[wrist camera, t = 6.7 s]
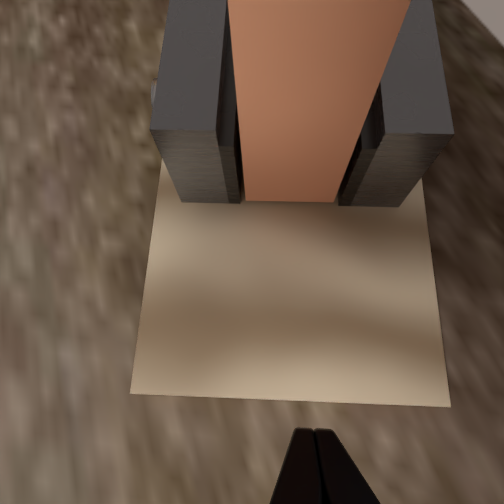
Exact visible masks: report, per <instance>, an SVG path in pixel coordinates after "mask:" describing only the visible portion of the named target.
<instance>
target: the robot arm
mask: <svg viewBox="0 0 504 504" xmlns="http://www.w3.org/2000/svg"><path fill="white" fill-rule="evenodd" d="M270 504H380V502H379V500H378V499H377V497H376V496H375V494H374V493H373V491H372V490H371V488H370V487H369V485H368V483H367V482H366V480H365V479H364V477H363V476H362V474H361V473H360V471H359V469H358V468H357V466H356V465H355V463H354V462H353V460H352V459H351V457H350V456H349V454H348V452H347V451H346V449H345V448H344V446H343V445H342V443H341V442H340V440H339V438H338V437H337V435H336V434H335V432H334V431H333V430H331V429H323V428H316V429H314V431H313V429H311V428H300V427H297V428H295V429H294V431H293V434H292V437H291V440H290V443H289V446H288V449H287V452H286V455H285V458H284V461H283V464H282V468H281V471H280V474H279V477H278V480H277V483H276V486H275V489H274V492H273V495H272V498H271V501H270Z"/></svg>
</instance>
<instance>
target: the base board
mask: <svg viewBox="0 0 504 504" xmlns="http://www.w3.org/2000/svg"><path fill="white" fill-rule="evenodd" d="M130 394H151V395H175V396H198V397H222V398H246V399H270V400H293V401H317V402H341V403H365V404H388V405H412V406H436V407H451V404H450V396H449V388H448V381H447V373H446V365H445V357H444V350H443V342H442V334H441V326H440V318H439V311H438V303H437V295H436V287H435V279H434V272H433V264H432V256H431V248H430V240H429V233H428V225H427V217H426V209H425V202H424V194H423V186H422V178H421V179H420V180H419V181H418V183H417V184H416V185H415V187H414V188H413V189H412V191H411V192H410V193H409V195H408V196H407V197H406V198H405V200H404V201H403V202H402V204H401V205H400V206H399V207H360V206H338V192H337V195H336V197H335V200H334V202H288V201H246V198H245V186H244V175H243V164H242V181H241V199H240V204H227V203H183V202H181V200H180V198H179V195H178V193H177V191H176V189H175V186H174V184H173V182H172V179H171V177H170V175H169V173H168V170H167V168H166V166H165V163H164V161H163V159H162V164H161V172H160V179H159V186H158V193H157V201H156V208H155V215H154V222H153V230H152V237H151V244H150V251H149V259H148V266H147V273H146V280H145V288H144V295H143V302H142V309H141V317H140V324H139V331H138V338H137V346H136V353H135V360H134V367H133V375H132V382H131V389H130Z"/></svg>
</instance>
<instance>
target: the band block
mask: <svg viewBox="0 0 504 504" xmlns="http://www.w3.org/2000/svg"><path fill="white" fill-rule="evenodd" d="M151 103H152V109H153V110H152V117H151V123H150V132H151V134H152V136H153V138H154V141H155V143H156V145H157V148H158V150H159V152H160V154H161V157H162V159H163V161H164V163H165V166H166V168H167V170H168V173H169V175H170V177H171V179H172V182H173V184H174V186H175V189H176V191H177V193H178V195H179V198H180V200H181V202H183V203H227V204H240V199H241V181H242V153H241V142H240V131H239V120H238V109H237V98H236V87H235V76H234V65H233V54H232V43H231V31H230V20H229V9H228V0H170V1H169V8H168V14H167V20H166V27H165V33H164V40H163V46H162V53H161V59H160V65H159V72H158V78H154V79H153V81H152V86H151ZM453 135H454V128H453V122H452V117H451V111H450V105H449V99H448V93H447V87H446V81H445V75H444V69H443V63H442V58H441V52H440V46H439V40H438V34H437V28H436V22H435V16H434V10H433V4H432V0H411V2H410V5H409V7H408V10H407V12H406V15H405V18H404V20H403V23H402V25H401V28H400V31H399V33H398V36H397V38H396V41H395V44H394V46H393V49H392V51H391V54H390V57H389V59H388V62H387V64H386V67H385V70H384V72H383V75H382V77H381V80H380V83H379V85H378V88H377V90H376V93H375V96H374V98H373V101H372V103H371V106H370V109H369V111H368V114H367V116H366V119H365V122H364V124H363V127H362V129H361V132H360V135H359V137H358V140H357V142H356V145H355V148H354V150H353V153H352V155H351V158H350V161H349V163H348V166H347V168H346V171H345V174H344V176H343V179H342V181H341V184H340V187H339V189H338V206H360V207H399V206H400V205H401V204H402V202H403V201H404V200H405V198H406V197H407V196H408V195H409V193H410V192H411V191H412V189H413V188H414V187H415V185H416V184H417V183H418V181H419V180H420V179H421V177H422V176H423V175H424V173H425V172H426V171H427V170H428V168H429V167H430V166H431V164H432V163H433V162H434V160H435V159H436V158H437V156H438V155H439V154H440V152H441V151H442V150H443V148H444V147H445V146H446V144H447V143H448V142H449V141H450V139H451V138H452V137H453Z"/></svg>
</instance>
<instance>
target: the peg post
mask: <svg viewBox="0 0 504 504" xmlns="http://www.w3.org/2000/svg"><path fill="white" fill-rule="evenodd" d="M410 2H411V0H228V9H229V20H230V31H231V43H232V54H233V65H234V76H235V87H236V98H237V109H238V120H239V131H240V142H241V153H242V164H243V175H244V186H245V198H246V201H288V202H334V200H335V197H336V195H337V192H338V189H339V187H340V184H341V181H342V179H343V176H344V174H345V171H346V168H347V166H348V163H349V161H350V158H351V155H352V153H353V150H354V148H355V145H356V142H357V140H358V137H359V135H360V132H361V129H362V127H363V124H364V122H365V119H366V116H367V114H368V111H369V109H370V106H371V103H372V101H373V98H374V96H375V93H376V90H377V88H378V85H379V83H380V80H381V77H382V75H383V72H384V70H385V67H386V64H387V62H388V59H389V57H390V54H391V51H392V49H393V46H394V44H395V41H396V38H397V36H398V33H399V31H400V28H401V25H402V23H403V20H404V18H405V15H406V12H407V10H408V7H409V5H410Z"/></svg>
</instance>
